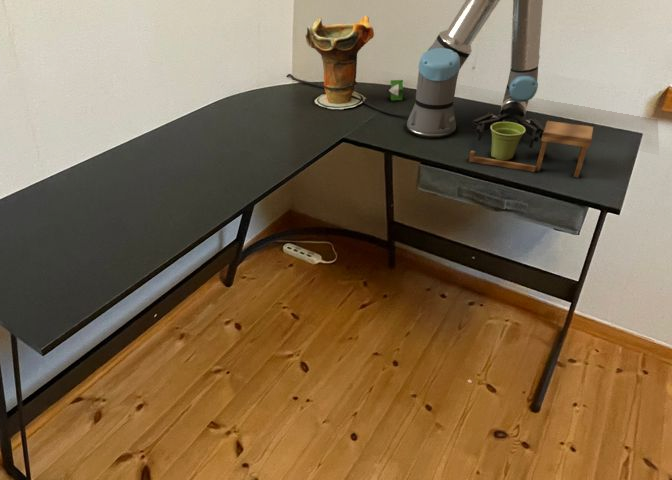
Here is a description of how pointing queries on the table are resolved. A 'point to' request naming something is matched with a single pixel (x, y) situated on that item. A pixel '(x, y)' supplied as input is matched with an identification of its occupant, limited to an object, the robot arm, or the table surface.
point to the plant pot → (505, 139)
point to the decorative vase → (339, 59)
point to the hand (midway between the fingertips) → (505, 140)
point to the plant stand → (552, 133)
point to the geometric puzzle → (396, 90)
